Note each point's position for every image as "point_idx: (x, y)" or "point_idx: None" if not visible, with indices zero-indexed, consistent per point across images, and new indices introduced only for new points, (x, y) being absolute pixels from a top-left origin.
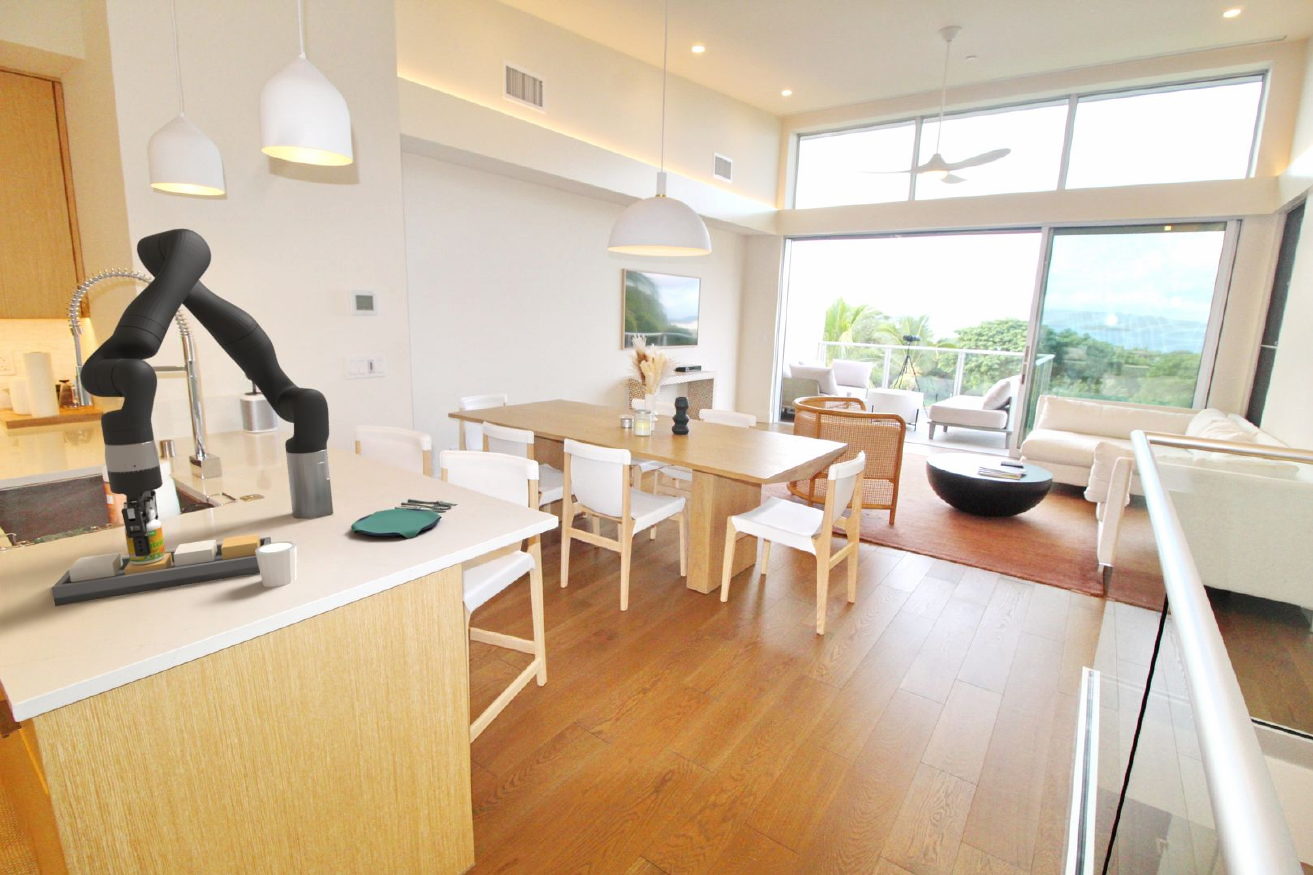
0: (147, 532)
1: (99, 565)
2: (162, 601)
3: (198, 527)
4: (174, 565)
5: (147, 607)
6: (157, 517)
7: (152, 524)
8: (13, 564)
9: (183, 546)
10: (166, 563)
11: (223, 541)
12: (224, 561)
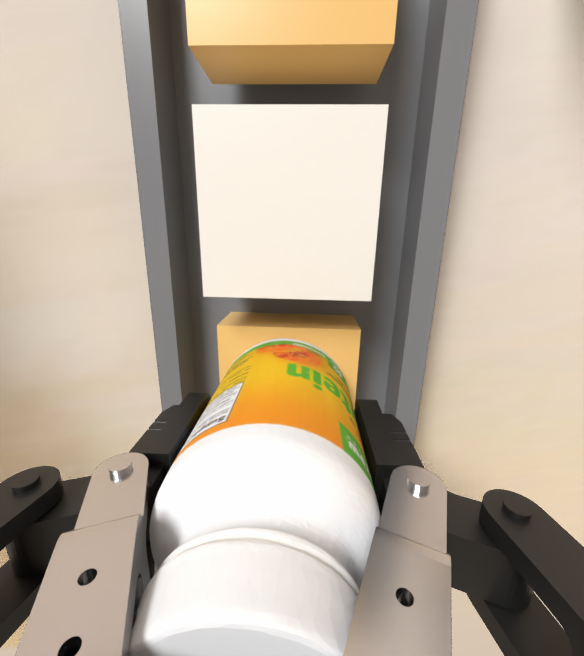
0: (428, 489)
1: None
2: (532, 299)
3: None
4: (246, 303)
5: (556, 334)
6: (38, 478)
7: (342, 497)
8: (11, 644)
9: (251, 271)
10: (328, 325)
11: (257, 45)
12: (465, 55)
